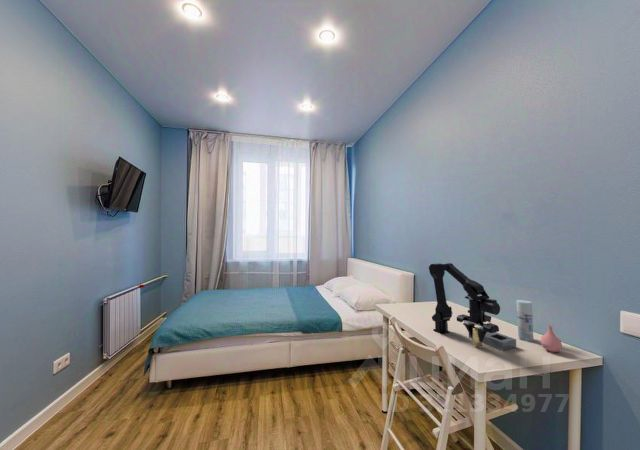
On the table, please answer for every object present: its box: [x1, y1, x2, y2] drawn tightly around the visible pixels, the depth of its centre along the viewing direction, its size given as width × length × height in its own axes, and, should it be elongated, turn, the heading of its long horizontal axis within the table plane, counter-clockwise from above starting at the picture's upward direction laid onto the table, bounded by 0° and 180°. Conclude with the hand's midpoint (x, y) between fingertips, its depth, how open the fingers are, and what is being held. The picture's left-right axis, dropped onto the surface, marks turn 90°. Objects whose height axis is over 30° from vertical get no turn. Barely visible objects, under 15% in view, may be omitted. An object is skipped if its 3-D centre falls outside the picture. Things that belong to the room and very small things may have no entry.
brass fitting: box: [471, 326, 483, 347], centre depth 125 cm, size 4×4×8 cm
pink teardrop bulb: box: [540, 324, 563, 353], centre depth 119 cm, size 8×8×12 cm
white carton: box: [516, 299, 534, 343], centre depth 133 cm, size 6×6×20 cm
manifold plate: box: [468, 326, 517, 352], centre depth 130 cm, size 10×18×4 cm, turn 22°
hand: (477, 340), depth 125 cm, fingers closed on brass fitting, 4 cm apart
